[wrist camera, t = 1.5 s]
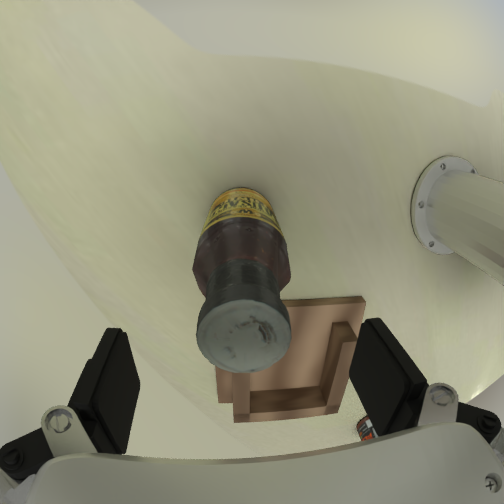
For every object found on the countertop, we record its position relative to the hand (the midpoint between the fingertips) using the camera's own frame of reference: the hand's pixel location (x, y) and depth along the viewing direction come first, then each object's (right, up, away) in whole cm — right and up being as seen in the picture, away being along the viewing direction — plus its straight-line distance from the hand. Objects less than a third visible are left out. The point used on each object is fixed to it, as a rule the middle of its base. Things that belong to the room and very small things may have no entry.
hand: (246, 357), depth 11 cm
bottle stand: (+5, -9, +26) cm, 28 cm away
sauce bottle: (-1, +8, +20) cm, 21 cm away
